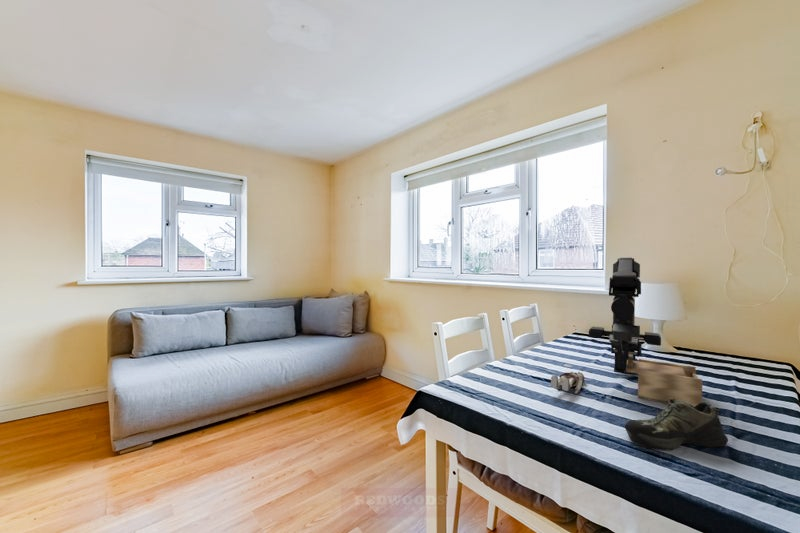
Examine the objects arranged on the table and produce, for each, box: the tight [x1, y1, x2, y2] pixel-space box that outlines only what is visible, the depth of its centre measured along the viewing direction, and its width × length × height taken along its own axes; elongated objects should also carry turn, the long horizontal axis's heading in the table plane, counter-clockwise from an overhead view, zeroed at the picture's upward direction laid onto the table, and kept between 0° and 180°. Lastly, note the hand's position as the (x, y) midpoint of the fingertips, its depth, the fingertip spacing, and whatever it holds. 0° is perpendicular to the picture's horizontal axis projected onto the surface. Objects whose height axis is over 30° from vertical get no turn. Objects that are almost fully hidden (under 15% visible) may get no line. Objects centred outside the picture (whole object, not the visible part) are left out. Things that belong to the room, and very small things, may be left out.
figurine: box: [550, 371, 586, 395], centre depth 104 cm, size 6×6×20 cm
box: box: [637, 358, 703, 407], centre depth 99 cm, size 14×14×8 cm
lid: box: [626, 354, 686, 377], centre depth 101 cm, size 14×12×3 cm
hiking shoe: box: [624, 398, 729, 451], centre depth 74 cm, size 8×21×9 cm, turn 94°
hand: (622, 362), depth 105 cm, fingers closed
